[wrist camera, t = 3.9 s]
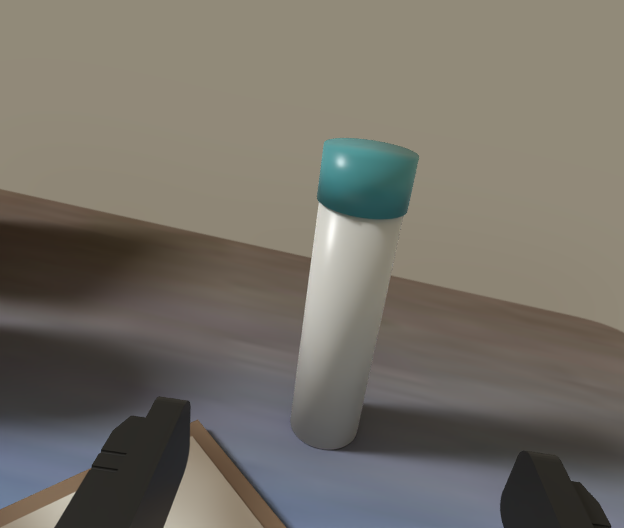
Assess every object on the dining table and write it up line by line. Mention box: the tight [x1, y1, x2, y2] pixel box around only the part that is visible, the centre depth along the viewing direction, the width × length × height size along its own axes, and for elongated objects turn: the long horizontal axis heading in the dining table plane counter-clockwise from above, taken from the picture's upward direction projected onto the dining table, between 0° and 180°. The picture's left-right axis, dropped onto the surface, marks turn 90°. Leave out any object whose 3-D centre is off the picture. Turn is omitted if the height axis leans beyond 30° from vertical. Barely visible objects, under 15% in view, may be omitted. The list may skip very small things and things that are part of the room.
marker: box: [290, 138, 419, 450], centre depth 20 cm, size 3×3×13 cm
